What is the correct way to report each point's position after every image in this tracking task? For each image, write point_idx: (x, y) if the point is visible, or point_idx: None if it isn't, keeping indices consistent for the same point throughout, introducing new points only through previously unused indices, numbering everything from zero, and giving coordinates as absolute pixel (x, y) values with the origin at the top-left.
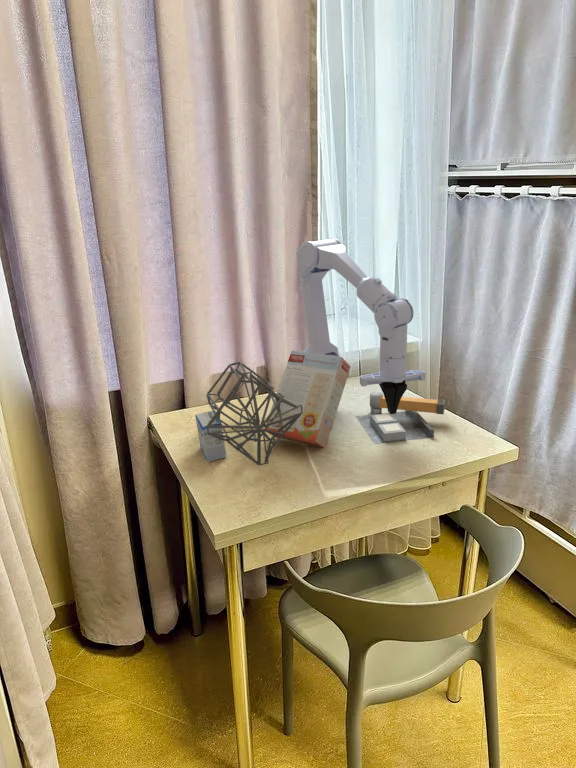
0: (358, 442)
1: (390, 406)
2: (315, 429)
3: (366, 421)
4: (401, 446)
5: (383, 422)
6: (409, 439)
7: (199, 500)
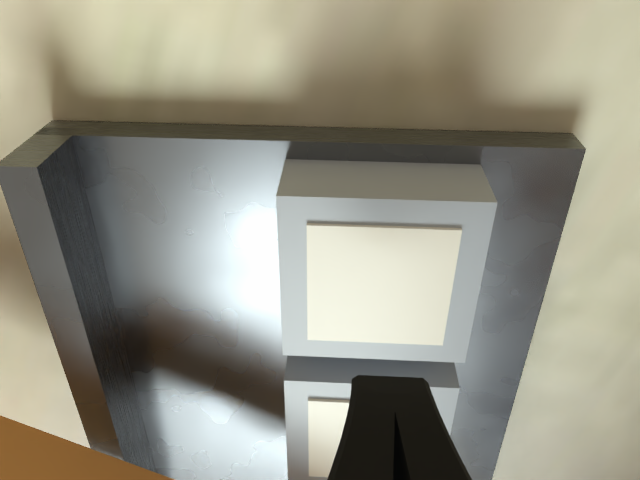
0: (635, 247)
1: (459, 463)
2: None
3: None
4: (341, 99)
5: None
6: (254, 146)
7: None
